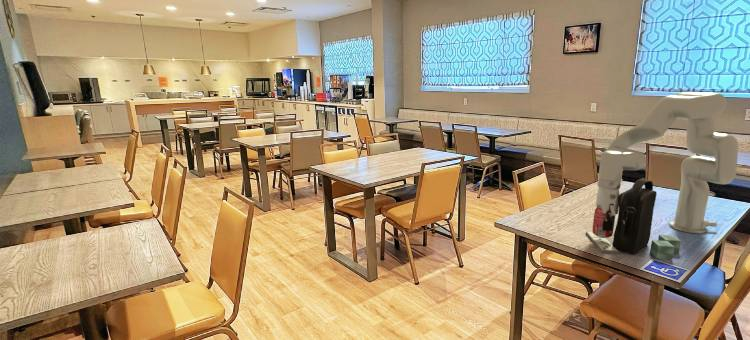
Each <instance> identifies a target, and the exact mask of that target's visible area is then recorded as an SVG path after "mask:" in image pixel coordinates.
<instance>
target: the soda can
mask: <svg viewBox="0 0 750 340" xmlns="http://www.w3.org/2000/svg"><path fill="white" fill-rule="evenodd" d="M606 212H607V213H610V211H606ZM608 216H610V215H607V217H608ZM603 220H605V218H604V213H603V212H602V210H601V208H600V207H599V206H598V205H597V206H596V207H595V209H594V213H593V221H592V232H593V234H595V235H596V236H598V237H601V238H606V239H608V238H610V237H612V236H613V235H614V230H615V222H616V216H615V217H614V221H613V227H612V231H603V230H602V228H603Z"/></svg>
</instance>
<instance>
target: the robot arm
mask: <svg viewBox="0 0 750 340" xmlns="http://www.w3.org/2000/svg"><path fill="white" fill-rule="evenodd" d="M727 104H728V102H727V99H726V96H724V95H723V94H721V93H718V92H699V91H698V92H696V91H695V92H694V91H683V92H678V93H676V94H673V95H666V96H663V97H662V98H660V99H659V100H658V101H657V103H655V105H654V106H653V107H652V109H651V110H650V111H649V112H648V113H647V115H646V116H645V118H643V120H642V121H641V122H640V123H639V124H637V125H636V126H633V127H632V128H630V129H627V130H626V131H624V132H622V133H620V134H619V135H617V137H616V138H614V139H613V141H612V142H611V143H610V144H609V146H608V147H607V149H606V150H604V151H603V152H601V155H600V163H599V169H598V176H597V185H596V186H597V187H598V189H597V193H596V199H595V200H596V201H595V206H596V207H597V205H598V206H599V207H600V208H601V210H602V212H603V213H604V218H605V220H603V228H602V230H603V231H612V227H613V221H614V217H615V218H616V215H618V213H619V204H618V197H619V195H620V189H621V184H622V178H623V177H622V176H623V171H638V170H641V169H642V168H644V167H645V166H646V165H647V156H646V155H645V154H644V153H643V152H641V151H639V150H635V149H630V147H631V146H633V145H635V144H638V143H641V142H647V141H648V142H649V141H651V140H656V139H660V138H661V137H663V136H664V135H665V133H666V132H667V131H668V129H669V128H670V127H671V126H672V124H673V123H674V122H675V121H676V120H678V119H679V120H685V122H686V149H687V151H688V152H689V153H691V154H695V155H689V156H687V157H686V158H684V159H683V160H682V163H681V166H680V173H681V174H680V175H681V178H680V179H681V182H680V188H679V193H678V200H677V205H676V209H675V214H674V215H675V216H674V220H671V221H670V222H669V227H671V228H673V229H675V230H677V231H681V232H684V233H690V234H705V233H707V231H708V227H717V225H718V223H717V222H716V221H710V220H705V216H706V211H707V206H708V201H709V197H710V187H709V186H710V185H709V184H708V183H713V184H717V185H728V184H730V183H732V181H734V179H735V178H736V175H737V169H738V157H739V156H738V154H739V142H738V140H737V138H736V137H735V136H734V135H732V134H728V133H722V132H717V131H716V130H715V117H716V116H718V115H720V114H721V113H723V112H724V111H725V109H726V108H727ZM606 211H610V213H607V212H606ZM607 215H610V216H608V217H607Z"/></svg>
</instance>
